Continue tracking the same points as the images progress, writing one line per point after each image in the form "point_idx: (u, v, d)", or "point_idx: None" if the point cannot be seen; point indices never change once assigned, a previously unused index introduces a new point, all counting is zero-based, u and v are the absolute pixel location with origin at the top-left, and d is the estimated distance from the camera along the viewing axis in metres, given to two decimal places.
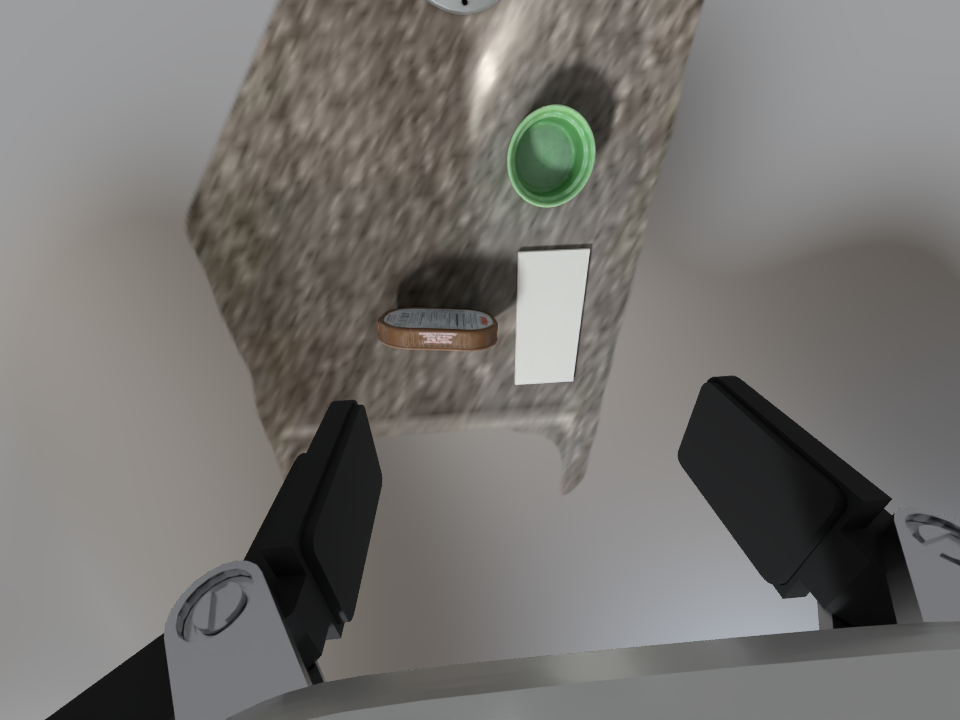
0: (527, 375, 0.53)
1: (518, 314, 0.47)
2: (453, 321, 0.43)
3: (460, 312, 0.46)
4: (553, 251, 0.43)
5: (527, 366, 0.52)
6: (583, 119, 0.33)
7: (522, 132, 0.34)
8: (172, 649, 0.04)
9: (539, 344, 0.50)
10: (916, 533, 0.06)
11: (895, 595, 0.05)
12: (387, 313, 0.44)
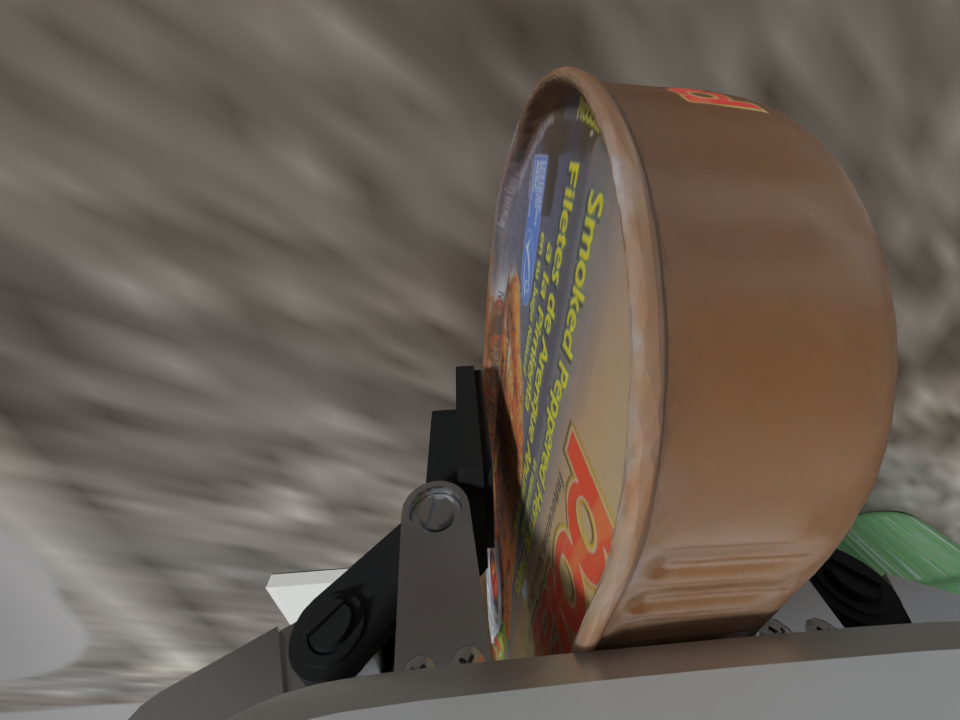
0: None
1: None
2: None
3: None
4: None
5: None
6: None
7: None
8: (419, 537, 0.06)
9: None
10: None
11: None
12: None
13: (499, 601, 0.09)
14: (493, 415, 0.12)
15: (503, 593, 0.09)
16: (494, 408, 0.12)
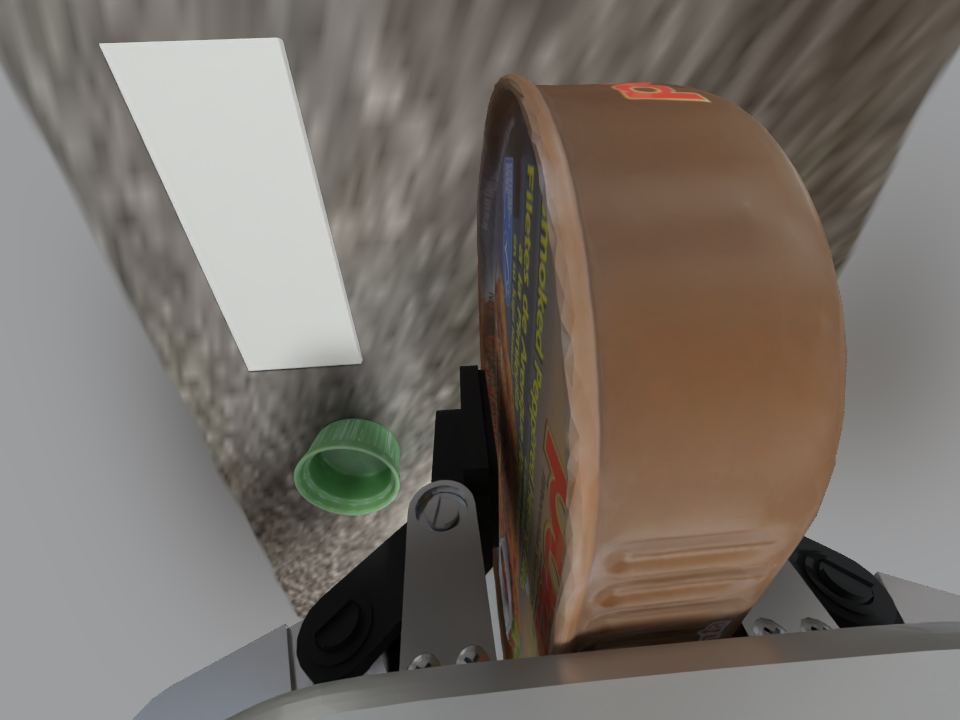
0: (253, 77, 0.19)
1: (332, 261, 0.24)
2: None
3: None
4: (306, 365, 0.28)
5: (265, 114, 0.20)
6: (324, 509, 0.32)
7: (387, 490, 0.33)
8: (425, 536, 0.06)
9: (260, 186, 0.21)
10: None
11: None
12: None
13: (509, 598, 0.10)
14: (495, 414, 0.12)
15: (513, 590, 0.09)
16: (495, 407, 0.12)
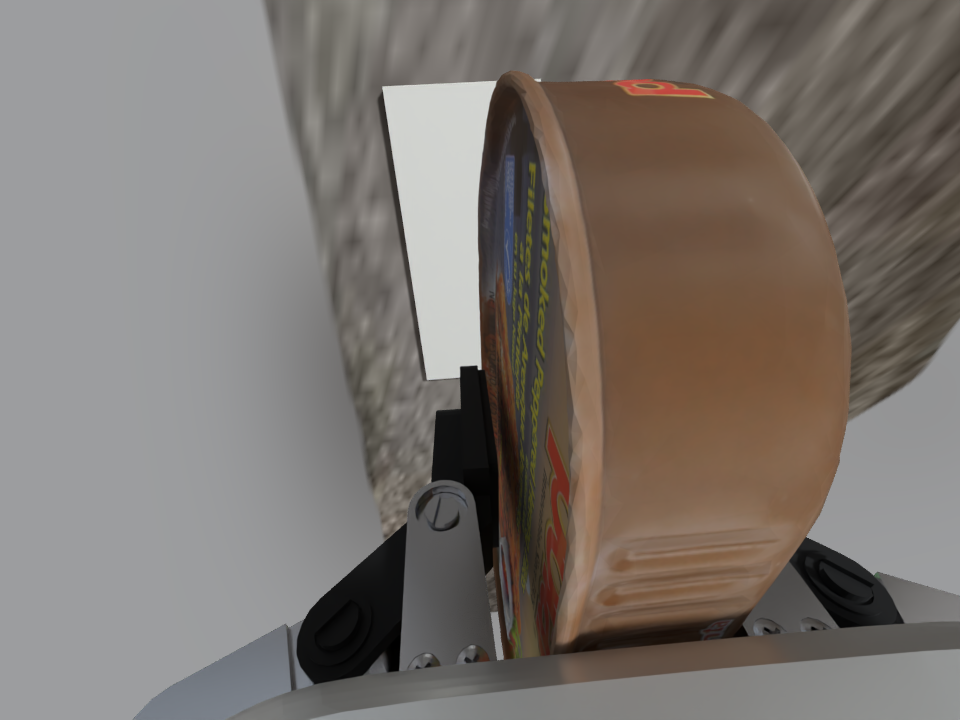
0: None
1: None
2: None
3: None
4: None
5: None
6: None
7: None
8: (425, 536, 0.06)
9: None
10: None
11: None
12: None
13: (510, 597, 0.10)
14: (495, 414, 0.12)
15: (513, 589, 0.09)
16: (496, 407, 0.12)
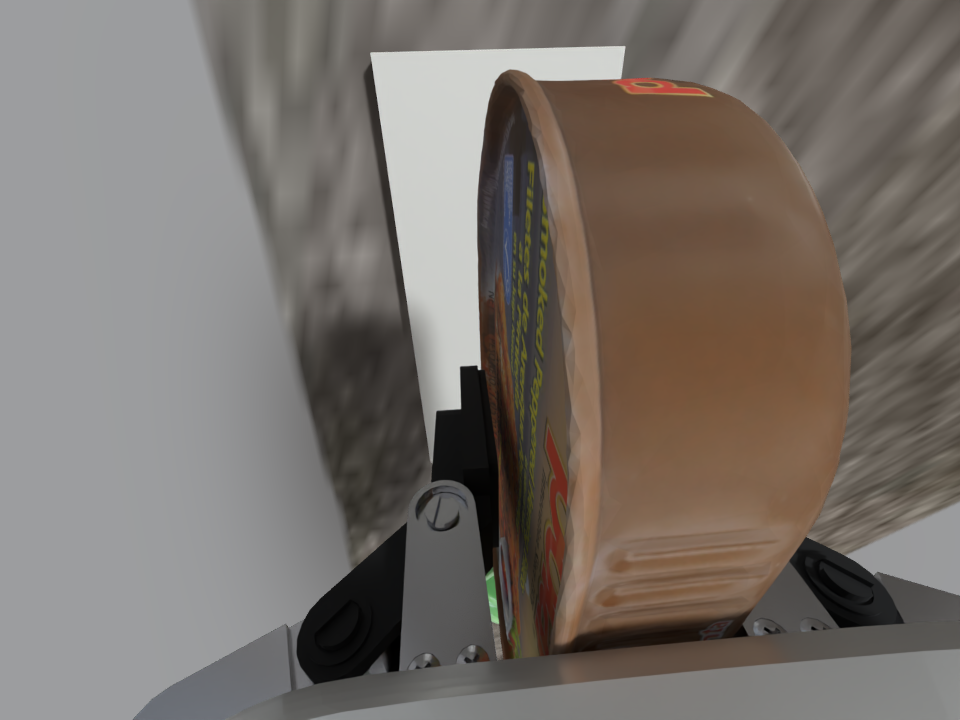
0: None
1: None
2: None
3: None
4: None
5: None
6: (495, 621, 0.26)
7: None
8: (425, 536, 0.06)
9: None
10: None
11: None
12: None
13: (509, 598, 0.09)
14: (495, 414, 0.12)
15: (513, 589, 0.09)
16: (495, 407, 0.12)
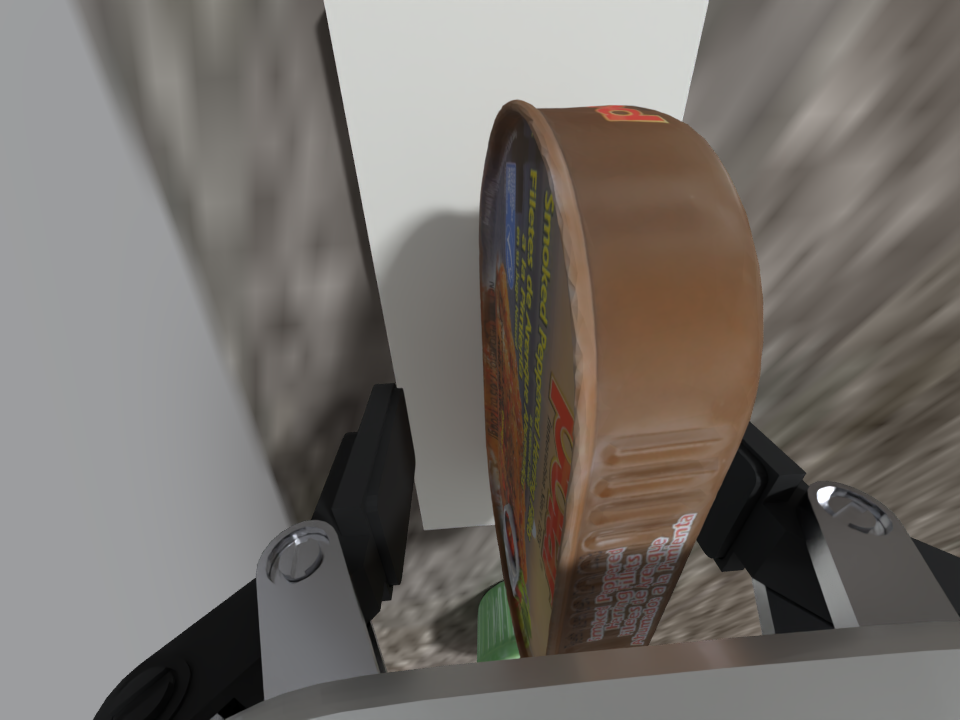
0: (623, 69, 0.09)
1: None
2: None
3: None
4: None
5: None
6: None
7: None
8: (266, 591, 0.05)
9: None
10: (827, 506, 0.06)
11: (820, 572, 0.05)
12: None
13: (516, 552, 0.11)
14: (496, 394, 0.13)
15: (519, 545, 0.11)
16: (496, 388, 0.13)
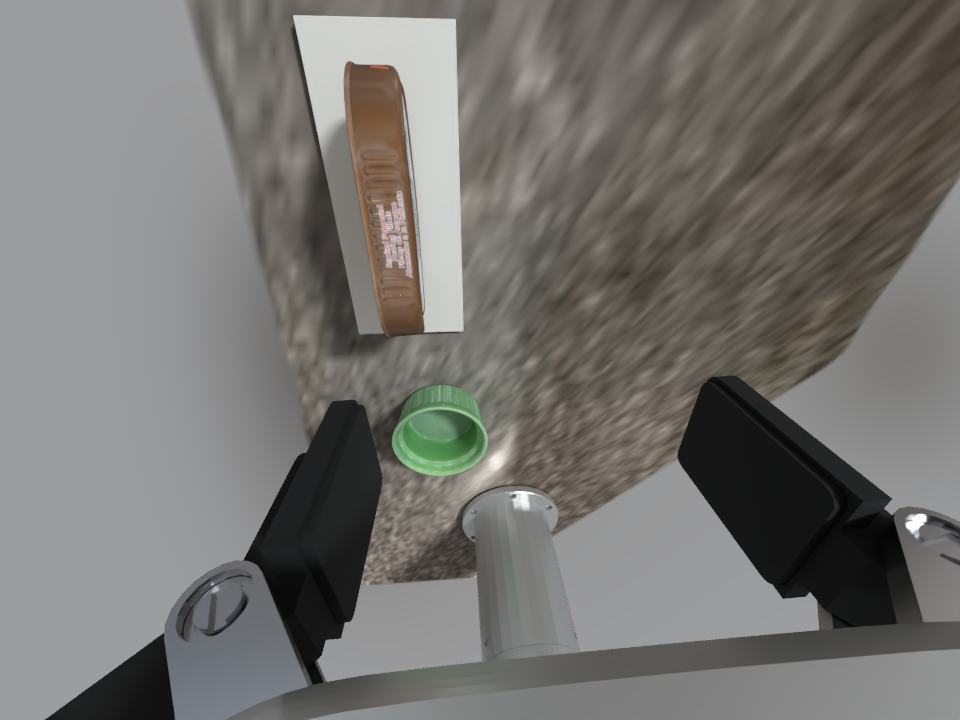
0: (425, 54, 0.21)
1: (458, 232, 0.26)
2: None
3: (418, 253, 0.25)
4: None
5: (429, 89, 0.21)
6: (413, 469, 0.34)
7: (470, 453, 0.35)
8: (172, 649, 0.04)
9: None
10: (916, 533, 0.06)
11: (895, 595, 0.05)
12: (402, 91, 0.19)
13: None
14: None
15: None
16: None
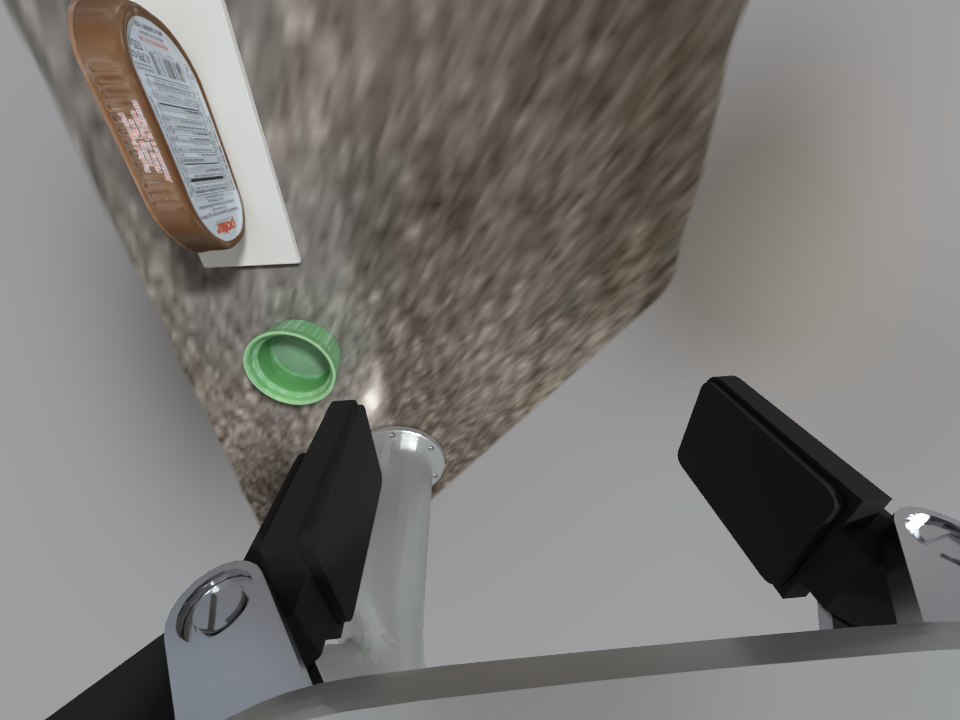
0: (193, 1, 0.24)
1: (267, 165, 0.30)
2: (201, 172, 0.26)
3: (228, 183, 0.29)
4: (253, 264, 0.34)
5: (205, 32, 0.25)
6: (272, 397, 0.37)
7: (327, 383, 0.38)
8: (172, 649, 0.04)
9: None
10: (916, 533, 0.06)
11: (895, 595, 0.05)
12: (162, 28, 0.23)
13: None
14: None
15: None
16: None
